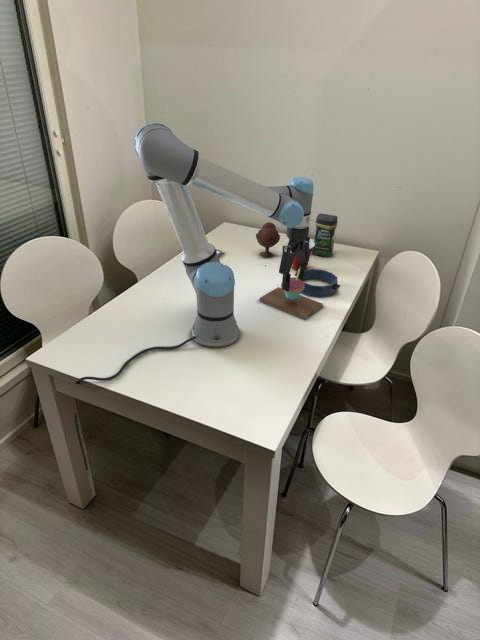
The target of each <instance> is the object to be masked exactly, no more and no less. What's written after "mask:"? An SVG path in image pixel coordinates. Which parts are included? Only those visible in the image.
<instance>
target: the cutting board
mask: <svg viewBox="0 0 480 640" xmlns="http://www.w3.org/2000/svg"><path fill="white" fill-rule="evenodd" d="M259 303H263V304H265V305H267V306H270V307H272V308H275V309H278V310H280V311H282V312H285V313H287V314H290V315H292V316H294V317H297V318H300V319H303V320H307V319H308V318H310V317H311V316H312V315H313V314H315V313H317V312H318V311H319V310H321V309H322V308H323V306H324V303H322V302H320V301H316V300H315V299H312V298H309V297H306V296H304V295H301V294H300V295H299V297H298V298H297V299H288V298H287V297H286V296H285V292H284V290H283V289H282V288H281V286H277V287H276V288H274V289H273V290H271V291H269V292H268V293H265V294H263V295H262V296H260V297H259Z"/></svg>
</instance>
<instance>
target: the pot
mask: <svg viewBox="0 0 480 640" xmlns="http://www.w3.org/2000/svg"><path fill="white" fill-rule="evenodd" d="M296 275H297V272H295V274H294V277H296ZM306 281H321V282H324V283H327V284H326V285H315V284H310V283H307V282H306ZM338 281H339V279H338V276H337V275H336V274H334V273H333V272H331V271H328V270H325V269H316V268H310V269H306V270H304V280H303V282H304V283H305V287H304V290H303V291H302V292H301V293H300V294H303V295H305V296H308V297H314V298H315V297H316V298H325V297H331V296H332V295H334V294H335V293H337V290H339V288H341V284H339V283H338Z"/></svg>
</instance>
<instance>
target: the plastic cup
mask: <svg viewBox="0 0 480 640" xmlns="http://www.w3.org/2000/svg"><path fill="white" fill-rule="evenodd" d="M314 246H315V242H314V240H312V239H310V242H309V260H310V258H311V255H312V249H313V247H314ZM291 253H293V252H291ZM305 258H306V257H305ZM306 263H308V264H309V262H306ZM298 264H300V263H299V260H298V255H296V256H295V257H294V261H293V264H292V269H293V270H294V271H297V265H298ZM307 268H308V266H306V265H305V270H307Z"/></svg>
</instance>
